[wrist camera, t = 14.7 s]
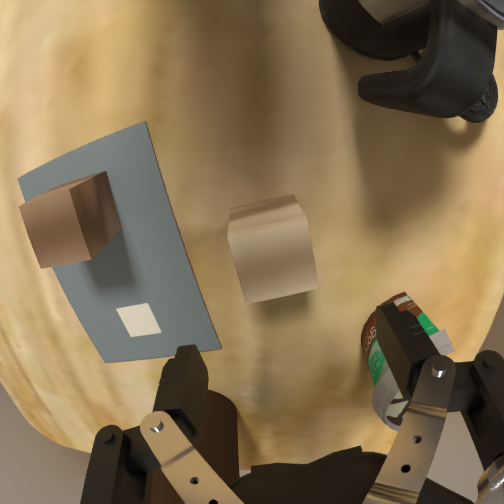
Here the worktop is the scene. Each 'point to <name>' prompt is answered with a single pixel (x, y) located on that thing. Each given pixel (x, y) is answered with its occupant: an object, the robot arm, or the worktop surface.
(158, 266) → the mat
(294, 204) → the maple block
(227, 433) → the olive oil
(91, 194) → the walnut block
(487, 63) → the milk frother
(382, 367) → the food container
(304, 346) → the worktop surface
